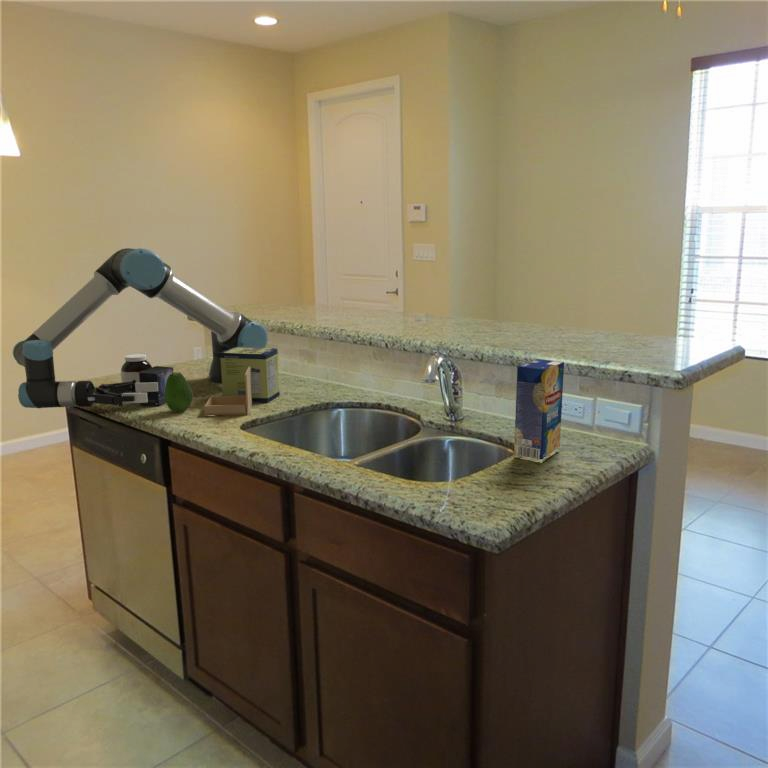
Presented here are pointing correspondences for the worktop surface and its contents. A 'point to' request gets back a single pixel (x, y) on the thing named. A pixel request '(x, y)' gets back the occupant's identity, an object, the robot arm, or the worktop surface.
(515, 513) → the worktop surface
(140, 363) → the spread jar
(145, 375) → the small box
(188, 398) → the fruit
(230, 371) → the protein box
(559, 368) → the blue cracker box
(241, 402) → the mailer box
